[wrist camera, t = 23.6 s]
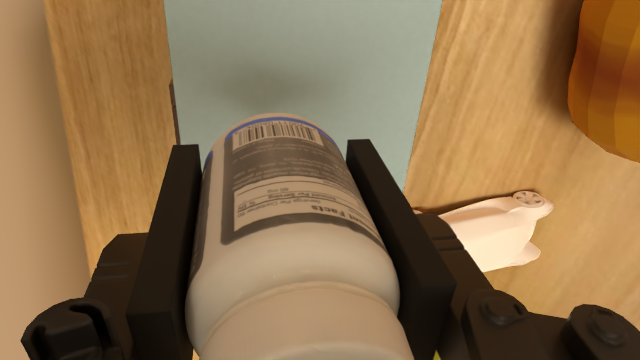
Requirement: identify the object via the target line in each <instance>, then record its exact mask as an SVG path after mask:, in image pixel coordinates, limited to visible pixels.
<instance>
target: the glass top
mask: <svg viewBox="0 0 640 360" xmlns="http://www.w3.org/2000/svg"><path fill="white" fill-rule="evenodd" d="M442 2H443V0H163V4H164V12H165V20H166V28H167V37H168V45H169V53H170V61H171V69H172V77H173V85H174V93H175V101H176V109H177V117H178V126H179V134H180V142H181V145H188V144H199V152H200V160H201V169H202V172H203V167H204V164H205V160H206V157H207V155H208V153H209V151H210V149H211V148H212V146H213V145H214V143H215V142H216V141H217V139H218V138H219V137H220V136H221V135H222V134H223V133H224V132H226V131H227V130H228V129H229V128H231V127H232V126H234V125H235V124H237V123H239V122H241V121H243V120H245V119H247V118H249V117H252V116H255V115H259V114H266V113H288V114H294V115H297V116H300V117H303V118H306V119H308V120H310V121H312V122H314V123H315V124H317V125H318V126H320V127H321V128H323V129H324V130H325V131H326V132H327V133H328V134H329V135H330V136H331V137H332V138H333V140H334V141H335V143H336V144H337V146H338V148H339V149H340V151H341V153H342V156H343V158H344V160H345V161H346V151H347V140H349V139H370V140H371V142H372V144H373V145H374V147H375V149H376V150H377V152H378V153H379V155H380V157H381V158H382V160H383V162H384V163H385V165H386V167H387V168H388V170H389V172H390V173H391V175H392V176H393V178H394V180H395V181H396V183H397V185H398V186H399V188H400V190H401V191H402V193H403V190H404V185H405V181H406V176H407V171H408V166H409V161H410V156H411V152H412V147H413V142H414V137H415V132H416V127H417V123H418V118H419V113H420V108H421V103H422V98H423V93H424V89H425V84H426V79H427V74H428V69H429V64H430V60H431V55H432V50H433V45H434V40H435V35H436V31H437V26H438V21H439V16H440V11H441V6H442Z"/></svg>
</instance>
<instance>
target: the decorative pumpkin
mask: <svg viewBox="0 0 640 360" xmlns="http://www.w3.org/2000/svg"><path fill="white" fill-rule="evenodd" d="M568 107H569V111H570V114H571V118H572V121H573V123H574V124H575V125H576V126H577V127H578V128H579V129H580V130H581V131H582V132H583V133H584V134H585V135H586V136H587V137H588V138H590V139H591V140H592V141H594V142H595V143H596V144H598V145H599V146H600V147H602V148H603V149H604V150H606V151H607V152H609V153H612V154H615V155H618V156H620V157H623V158H626V159H629V160H631V161H635V162H639V163H640V0H584V1H583V5H582V8H581V12H580V21H579V31H578V41H577V50H576V53H575V57H574V61H573V65H572V68H571V72H570V76H569V80H568Z"/></svg>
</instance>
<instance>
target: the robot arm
mask: <svg viewBox="0 0 640 360" xmlns="http://www.w3.org/2000/svg"><path fill="white" fill-rule="evenodd" d="M345 162H346V164H347V167H348V169H349V171H350V173H351V175H352V177H353V179H354V181H355V183H356V185H357V188H358V190H359V192H360V194H361V197H362V199H363V201H364V204H365V205H366V207H367V210H368V212H369V214H370V216H371V218H372V220H373V222H374V224H375V227H376V229H377V231H378V233H379V235H380V237H381V239H382V241H383V243H384V246H385V248H386V250H387V252H388V254H389V255H390V257H391V259H392V261H393V265H394V267H395V270H396V272H397V277H398V281H399V287H400V306H399V310H398V314H397V319H398V321H399V322H400V324H401V325H402V327H403V329H404V332H405V335H406V338H407V341H408V344H409V347H410V349H411V352H412V355H413V357H414V360H433V359H434V356H435V352H436V351H437V353H438V355H439V357H440V359H441V360H640V331H639V330H638V329H637V328H636V327H635V326H634V325H632V324H631V323H630V322H629V321H627V320H626V319H625V318H624V317H623V316H621V315H619V314H617V313H615V312H613V311H611V310H610V309H607V308H604V307H601V306H597V305H588V304H583V305H580V306H577V307H575V308H574V309H573V311H572V312H571V313H570V315H569V317H568V319H565V318H559V317H553V316H547V315H542V314H536V313H532V312H528V311H527V309H526V308H525V306H524V305H523V304H522V303H521V302H519V301H518V300H517V299H516V298H514V297H513V296H511V295H509V294H507V293H505V292H503V291H499V290H495V289H494V288H493V287H492V286H491V284H490V283H489V281H488V280H487V278H486V277H485V275H484V274H483V273H482V271H481V270H480V268H479V267H478V265H477V264H476V263H475V261H474V260H473V258H472V257H471V255H470V254H469V253H468V251H467V250H465V249H464V245H463V244H462V243H461V241H460V240H459V239H457V235H456V234H455V233H454V231H453V230H452V228H451V227H450V225H449V224H448V223H447V222H445V221H444V220H443V219H441V218H440V217H439V216H437V215H436V214H435V213H422V214H415V213H414V211H413V209H412V208H411V206H410V204H409V203H408V201H407V199H406V198H405V196H404V195H403V193H402V191H401V190H400V188H399V186H398V185H397V183H396V181H395V180H394V178H393V176H392V175H391V173H390V172H389V170H388V168H387V167H386V165H385V163H384V162H383V160H382V158H381V157H380V155H379V153H378V152H377V150H376V149H375V147H374V145H373V144H372V142H371V140H370V139H349V140H347V151H346V161H345ZM201 177H202V169H201V160H200V152H199V144H188V145H173V148H172V151H171V155H170V158H169V162H168V165H167V169H166V172H165V176H164V179H163V183H162V187H161V190H160V194H159V197H158V201H157V204H156V208H155V211H154V215H153V218H152V222H151V226H150V229H149V232H148V233H133V234H118V235H117V236H116V237H115V238H114V239H113V240H112V241H111V242H110V243H109V244H108V245H107V246H106V247H105V248H104V249H103V251H102V253H101V256H100V258H99V261H98V263H97V268H95V271H94V273H93V275H92V278H91V279H92V280H91V282H90V283H89V286H88V288H87V290H86V293H85V295H84V298H77V299H69V300H67V301H64V302H61V303H58V304H56V305H53V306H52V307H50V308H49V309H47V310H45V311H44V312H42V313H41V314H39V315H38V316H37V317H36V318H35V319H34V320H33V321H32V322H31V323H30V324H29V325H28V326H27V328H26V330H25V332H24V334H23V336H22V338H21V343H22V344H23V346H24V348H25V350H26V352H27V354H28V356H29V358H30V360H192V358H193V346H192V344H191V342H190V339H189V337H188V333H187V329H186V322H185V298H186V291H187V283H188V276H189V269H190V263H191V257H192V248H193V240H194V232H195V224H196V218H197V210H198V203H199V193H200V185H201Z"/></svg>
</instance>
